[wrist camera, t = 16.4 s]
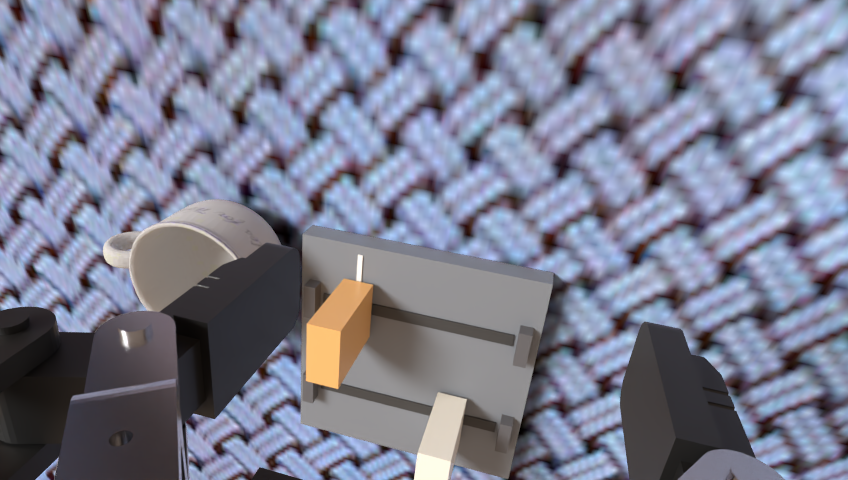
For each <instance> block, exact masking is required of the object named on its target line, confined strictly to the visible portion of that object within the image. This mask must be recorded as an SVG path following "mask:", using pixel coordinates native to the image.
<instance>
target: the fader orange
mask: <svg viewBox="0 0 848 480" xmlns="http://www.w3.org/2000/svg"><path fill="white" fill-rule="evenodd" d="M372 296H373V285H372V284H367V283H363V282H358V281H353V280H349V279H343V280H342V281H341V283H340V284H339V285H338V286H337V288H336V289H335V290H334V291H333V292H332V294H331V295H330V296H329V297H328V298H327V300H326V301H325V302H324V303H323V305H322V306H321V307H320V308H319V309H318V311H317V312H316V313H315V314H314V316H313V317H312V318H311V319H310V320H309V322H308V323H307V343H306V381H308V382H312V383H316V384H320V385H324V386H328V387H332V388H336V389H338V388H339V387H340V385H341V383H342V382H343V380H344V378H345V377H346V375H347V373H348V372H349V370H350V368H351V367H352V365H353V363H354V362H355V360H356V358H357V357H358V355H359V353H360V352H361V350H362V348H363V347H364V345H365V343H366V342H367V340H368V338H369V337H370V324H371V310H372Z"/></svg>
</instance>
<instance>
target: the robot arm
mask: <svg viewBox="0 0 848 480" xmlns="http://www.w3.org/2000/svg"><path fill="white" fill-rule="evenodd" d="M299 307H300V254H299V251H298V250H297V249H296V248H292V247H287V246H282V245H277V244H272V243H265V244H263V245H262V246H261V247H259V248H258V249H257V250H256V251H254V252H253V253H252V254H250V255H249V256H248V257H247V258H243V257H242V258H239V259H236V260H234V261H231V262H228V263H226V264H223V265H221V266H220V267H219V268H217V269H216V270H215V271H213V272H212V273H211V274H209V275H208V278H206V277H205V278H204V279H202V280H201V281H200V282H198V283H197V285H196V286H193V287H192V288H190V289H189V290H188V291H186V292H185V293H184V294H182V295H181V296H180V297H178V298H177V299H176V300H174V301H173V302H172V303H170V304H169V305H168V306H166V307H165V308H164V309H162V310H161V311H160V312H156V311H137V312H130V313H126V314H123V315H120V316H117V317H114V318H112V319H110V320H108V321H107V322H105V323H104V324H102V325H101V326H100V327H99V328H98V329H97V330H96V332H95V333H80V332H59V331H58V326H57V321H56V317H55V315H54V313H52V312H51V311H49V310H47V309H44V308H39V307H18V308H12V309H7V310H3V311H0V480H35V479H36V478H37V477H38V476H39V475H40V474H42V473H43V472H44V471H45V470H46V469H47V468H48V467H49V466H50V465H51V464H52V463H53V462H54V461H55V460H56V459H57V458H58V457H59V459H58V464H57V468H56V473H55V478H54V480H190V477H189V459H188V441H187V427H186V421H187V420H188V419H189V418H190V417H191V415H192V414H193V413H194V414H198V415H202V416H205V417H209V418H213V419H215V418H216V417H217V416H218V415H219V414H220V413H221V411H222V410H223V409H224V408H225V407H226V406H227V404H228V403H229V402H230V401H231V400H232V399H233V397H234V396H235V395H236V394H237V393H238V391H239V390H240V389H241V388H242V387H243V386H244V384H245V383H246V382H247V381H248V380H249V379H250V377H251V376H252V375H253V374H254V373H255V372H256V370H257V369H258V368H259V367H260V366H261V365H262V363H263V362H264V361H265V360H266V359H267V358H268V356H269V355H270V354H271V353H272V352H273V351H274V349H275V348H276V347H277V346H278V345H279V344H280V342H281V341H282V340H283V339H284V338H285V337H286V335H287V334H288V333H289V332H290V331H291V329H292V328H293V326H294V324H295V322H296V320H297V317H298V313H299ZM728 393H729V392H728V390H727V388H726V385H725V383H724V380H723V378H722V375H721V374H720V373H719V372H718V371H717V370H716V369H715V368H714V367H713V366H712V365H711V364H710V363H709V362H708V361H707V360H706V359H705V358H704V357H700V356H695V355H691V353H690V351H689V348H688V345H687V342H686V339H685V336H684V334H683V331H682V330H681V329H678V328H673V327H669V326H664V325H659V324H654V323H649V322H644V323H643V324H642V325H641V327H640V330H639V333H638V336H637V339H636V342H635V345H634V348H633V351H632V354H631V358H630V361H629V364H628V367H627V370H626V373H625V376H624V380H623V384H622V389H621V397H620V409H621V417H622V425H623V433H624V440H625V448H626V456H627V463H628V471H629V479H630V480H785V479H784V478H783V477H782V476H781V475H779V474H778V473H777V472H776V471H775V470H773V469H772V468H771V467H769V466H768V465H766V464H765V463H763V462H761V461H759V460H758V459H756V458H755V455H754V453H753V450H752V448H751V445H750V443H749V441H748V438H747V436H746V433H745V431H744V429H743V426H742V424H741V421H740V419H739V416H738V414H737V412H736V411H734V408H735V407H734V404H733V402H732V400H731V397H730V396H728ZM252 480H302V479H298V478H295V477H291V476H288V475H284V474H281V473H278V472H274V471H271V470H267V469H264V468H259V469H258V471H257V472H256V474H255V475H254V477H253V478H252Z"/></svg>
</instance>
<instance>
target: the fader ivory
mask: <svg viewBox="0 0 848 480" xmlns="http://www.w3.org/2000/svg"><path fill="white" fill-rule="evenodd" d="M466 401H467V399H464V398H460V397H456V396H452V395H448V394H444V393H440V392H438V394H437V397H436V400H435V403H434V406H433V409H432V411H431V414H430V417H429V420H428V423H427V426H426V429H425V432H424V435H423V438H422V441H421V444H420V447H419V450H418V454H417V461H416V469H415V477H414V480H450V479H451V475H452V471H453V467H454V463H455V459H456V455H457V451H458V447H459V442H460V436H461V430H462V425H463V419H464V413H465V407H466Z"/></svg>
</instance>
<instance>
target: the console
mask: <svg viewBox="0 0 848 480" xmlns="http://www.w3.org/2000/svg"><path fill="white" fill-rule="evenodd" d="M553 276H554V273H552V272H547V271H542V270H537V269H532V268H527V267H522V266H517V265H512V264H507V263H502V262H497V261H492V260H487V259H481V258H476V257H471V256H466V255H461V254H456V253H451V252H446V251H441V250H436V249H431V248H426V247H421V246H416V245H411V244H406V243H401V242H396V241H391V240H386V239H381V238H376V237H371V236H365V235H360V234H355V233H350V232H345V231H340V230H335V229H330V228H325V227H320V226H315V225H312V226H311V227H310V228H309V229H308V230H307V231H305V232H304V233H303V234H302V345H301V424H304V425H308V426H312V427H316V428H319V429H323V430H327V431H331V432H334V433H338V434H342V435H345V436H349V437H353V438H357V439H360V440H364V441H368V442H372V443H375V444H379V445H383V446H387V447H390V448H394V449H398V450H401V451H405V452H409V453H413V454H416V455H417V454H418V450H419V447H420V444H421V441H422V438H423V435H424V432H425V429H426V426H427V423H428V420H429V417H430V414H431V411H432V409H433V406H434V403H435V400H436V397H437V394H438V392H440V393H444V394H448V395H452V396H456V397H460V398H464V399H467V401H466V407H465V413H464V419H463V425H462V430H461V436H460V442H459V447H458V451H457V455H456V459H455V463H454V465H457V466H461V467H465V468H469V469H472V470H476V471H480V472H484V473H487V474H491V475H495V476H498V477H502V478H506V479H508V478H509V473H510V469H511V465H512V460H513V456H514V452H515V447H516V443H517V439H518V434H519V430H520V426H521V421H522V417H523V413H524V408H525V404H526V400H527V395H528V391H529V387H530V382H531V378H532V374H533V369H534V365H535V361H536V356H537V352H538V348H539V343H540V339H541V335H542V330H543V326H544V322H545V317H546V313H547V309H548V304H549V300H550V296H551V291H552V287H553ZM343 279H349V280H353V281H358V282H363V283H367V284H372V285H373V296H372V310H371V324H370V337H369V338H368V340H367V342H366V343H365V345H364V347H363V348H362V350H361V352H360V353H359V355H358V357H357V358H356V360H355V362H354V363H353V365H352V367H351V368H350V370H349V372H348V373H347V375H346V377H345V378H344V380H343V382H342V383H341V385H340V387H339V388H338V389H336V388H332V387H328V386H324V385H320V384H316V383H312V382H308V381H306V343H307V323H308V322H309V320H310V319H311V318H312V317H313V316H314V314H315V313H316V312H317V311H318V309H319V308H320V307H321V306H322V305H323V303H324V302H325V301H326V300H327V298H328V297H329V296H330V295H331V294H332V292H333V291H334V290H335V289H336V288H337V286H338V285H339V284H340V283H341V281H342V280H343Z"/></svg>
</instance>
